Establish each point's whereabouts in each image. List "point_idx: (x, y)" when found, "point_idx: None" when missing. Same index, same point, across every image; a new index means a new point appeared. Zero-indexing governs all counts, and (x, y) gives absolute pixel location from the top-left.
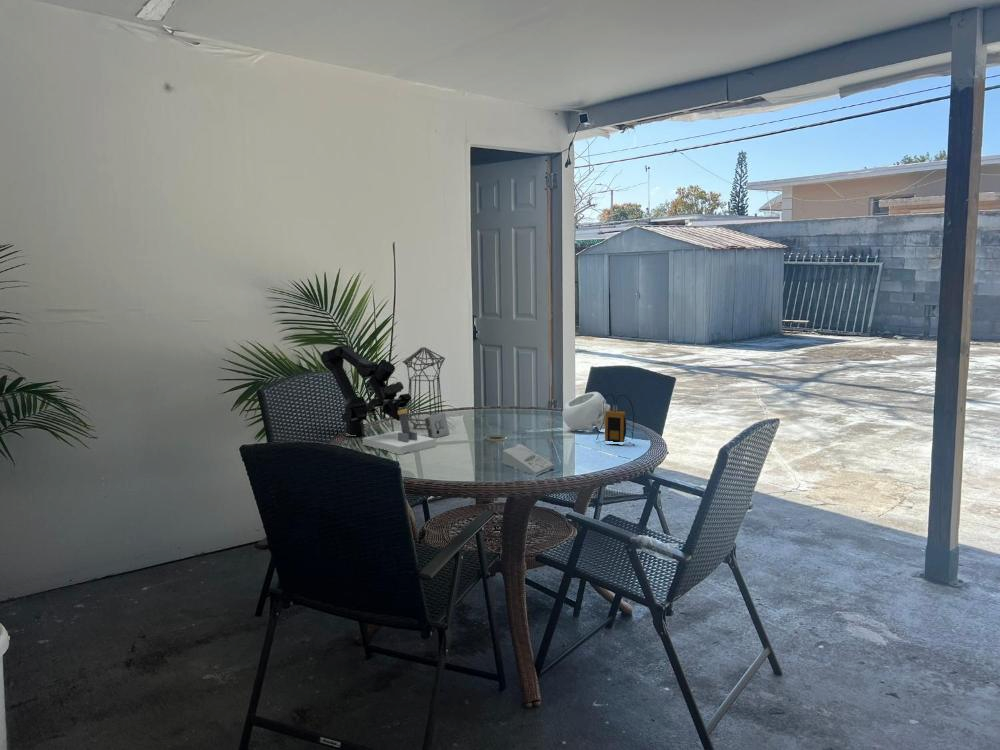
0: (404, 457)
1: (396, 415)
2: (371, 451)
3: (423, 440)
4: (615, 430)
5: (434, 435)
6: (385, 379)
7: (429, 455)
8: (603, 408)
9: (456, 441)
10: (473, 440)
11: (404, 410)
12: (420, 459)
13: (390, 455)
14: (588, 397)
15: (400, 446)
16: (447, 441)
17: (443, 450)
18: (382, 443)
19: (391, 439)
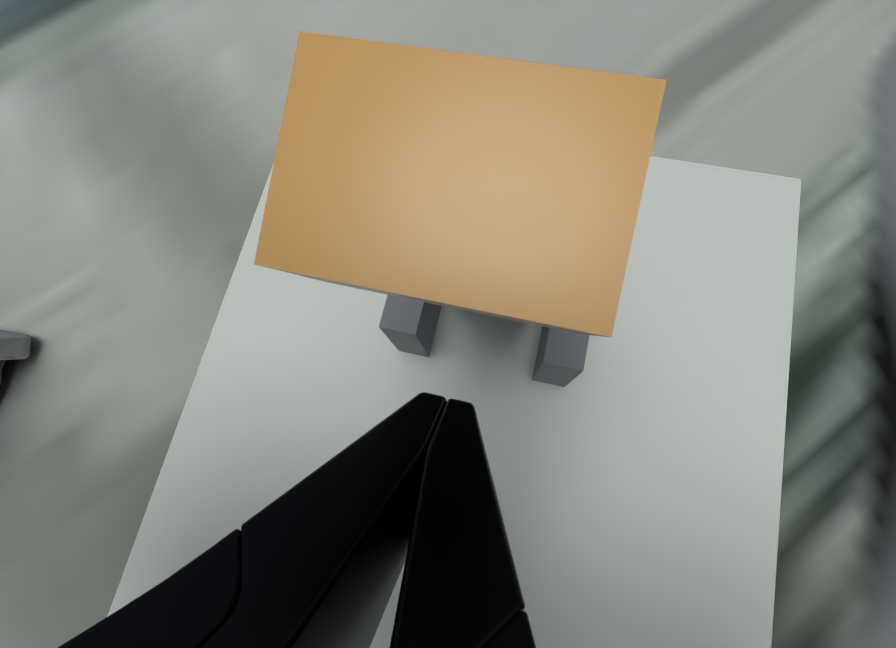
0: (791, 137)
1: (492, 477)
2: (838, 577)
3: None
4: None
5: (7, 334)
6: None
7: (607, 25)
8: None
9: (95, 118)
10: (26, 38)
11: (445, 79)
12: (753, 6)
13: (824, 282)
14: None
15: (779, 183)
16: (117, 175)
17: (412, 33)
18: (776, 485)
19: (561, 502)
